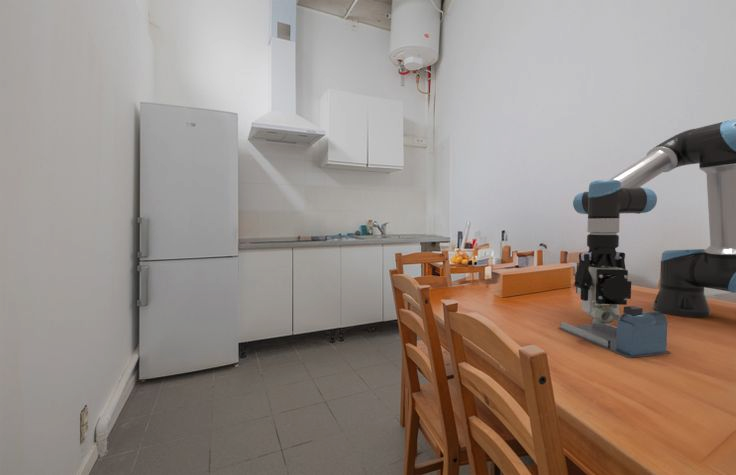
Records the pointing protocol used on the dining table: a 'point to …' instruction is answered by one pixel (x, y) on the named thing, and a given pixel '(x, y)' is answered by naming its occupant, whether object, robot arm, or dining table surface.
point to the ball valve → (607, 292)
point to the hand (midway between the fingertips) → (600, 310)
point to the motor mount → (627, 333)
